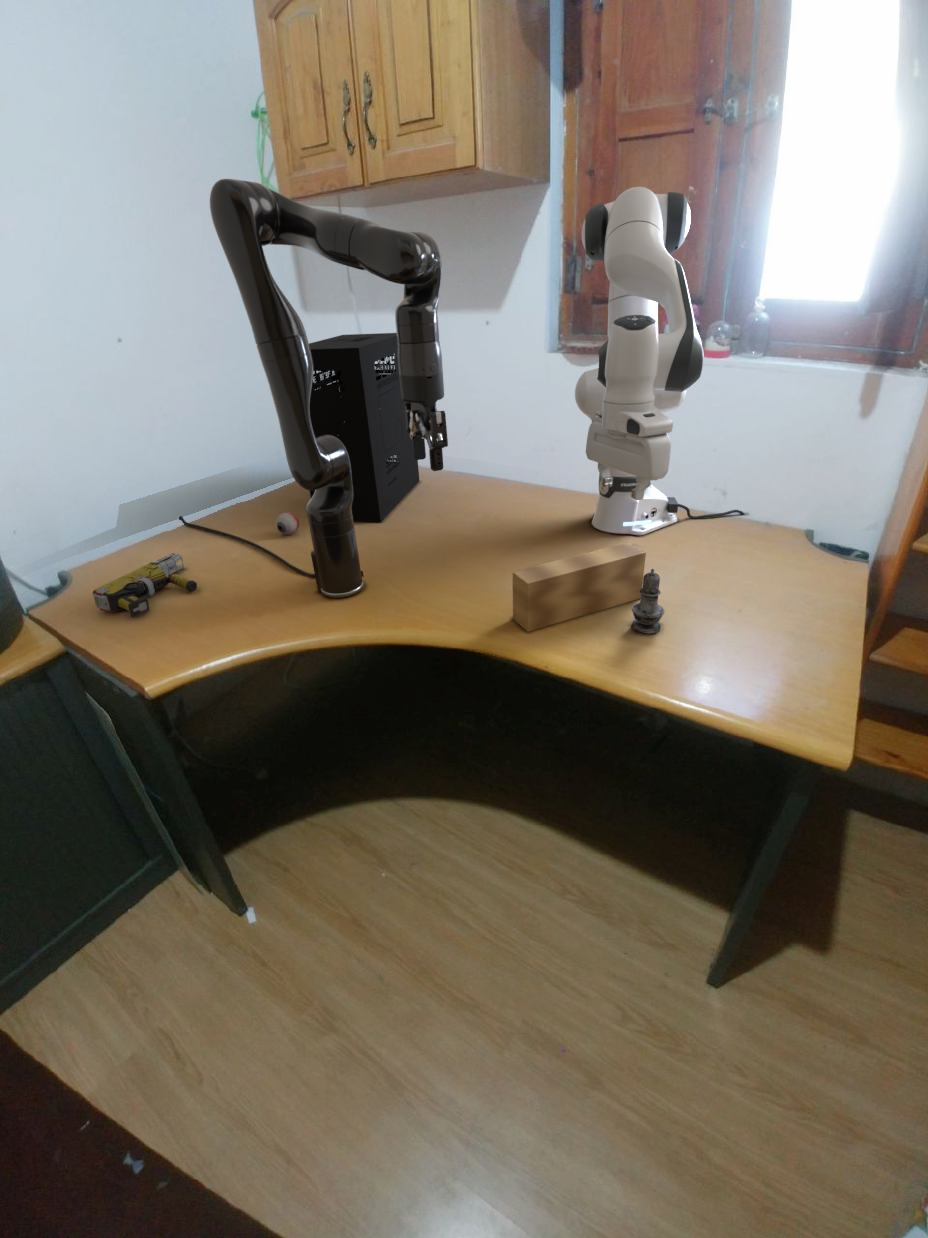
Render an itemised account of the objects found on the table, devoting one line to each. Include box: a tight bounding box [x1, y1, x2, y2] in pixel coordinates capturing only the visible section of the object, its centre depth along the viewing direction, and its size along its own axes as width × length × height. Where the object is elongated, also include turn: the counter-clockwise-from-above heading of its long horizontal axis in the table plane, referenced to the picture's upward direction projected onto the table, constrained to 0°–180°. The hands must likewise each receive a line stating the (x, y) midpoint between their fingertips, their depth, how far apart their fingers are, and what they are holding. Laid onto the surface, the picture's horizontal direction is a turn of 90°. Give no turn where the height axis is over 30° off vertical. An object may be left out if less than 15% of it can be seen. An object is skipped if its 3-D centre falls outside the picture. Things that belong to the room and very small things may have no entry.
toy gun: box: [92, 552, 198, 618], centre depth 136 cm, size 5×24×15 cm
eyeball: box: [275, 511, 300, 536], centre depth 163 cm, size 6×6×6 cm
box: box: [512, 542, 647, 633], centre depth 119 cm, size 27×6×10 cm, turn 115°
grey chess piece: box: [631, 568, 665, 634], centre depth 111 cm, size 6×6×12 cm
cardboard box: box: [308, 332, 420, 523], centre depth 176 cm, size 38×20×45 cm, turn 167°
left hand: (428, 464), depth 111 cm, fingers open, 8 cm apart
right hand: (621, 492), depth 115 cm, fingers open, 8 cm apart
